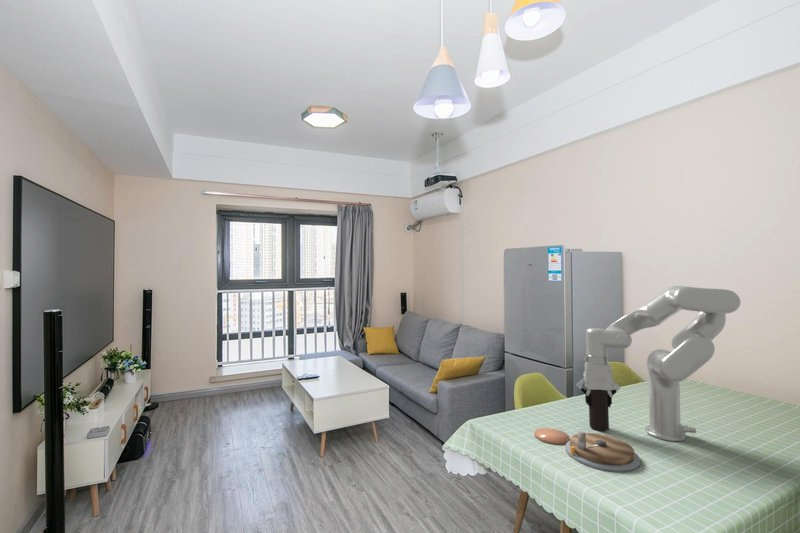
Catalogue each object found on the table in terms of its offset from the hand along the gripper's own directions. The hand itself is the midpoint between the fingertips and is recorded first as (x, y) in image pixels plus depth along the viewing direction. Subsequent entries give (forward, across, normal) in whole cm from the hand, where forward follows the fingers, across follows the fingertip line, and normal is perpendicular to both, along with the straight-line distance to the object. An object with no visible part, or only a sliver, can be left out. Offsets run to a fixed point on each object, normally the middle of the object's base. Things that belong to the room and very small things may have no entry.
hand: (598, 405), depth 150 cm
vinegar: (+9, 0, 0) cm, 9 cm away
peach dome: (+9, -20, -13) cm, 25 cm away
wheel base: (+9, -6, -24) cm, 26 cm away
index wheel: (+8, -6, -24) cm, 26 cm away
